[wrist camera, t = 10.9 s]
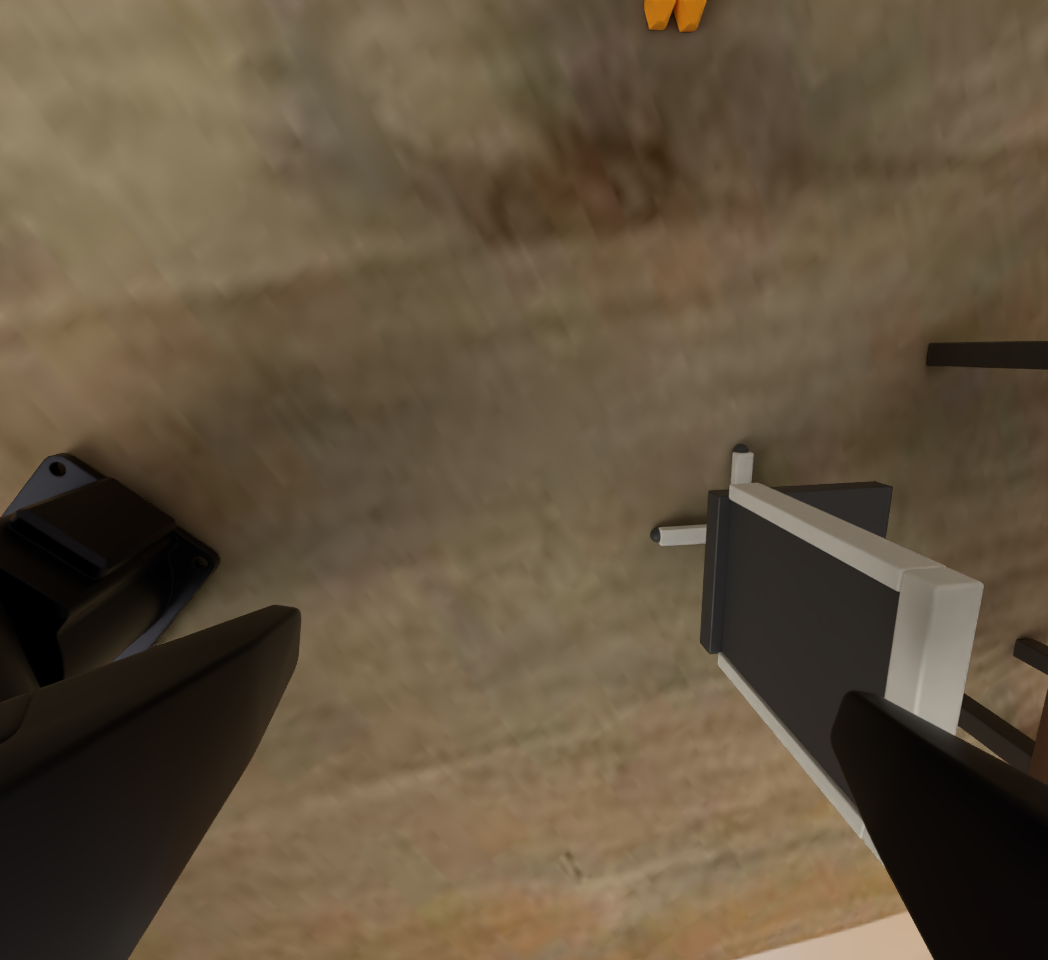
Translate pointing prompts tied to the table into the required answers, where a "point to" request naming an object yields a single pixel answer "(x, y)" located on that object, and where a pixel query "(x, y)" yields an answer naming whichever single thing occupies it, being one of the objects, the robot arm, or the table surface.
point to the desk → (1010, 744)
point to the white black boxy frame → (827, 613)
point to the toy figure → (686, 8)
